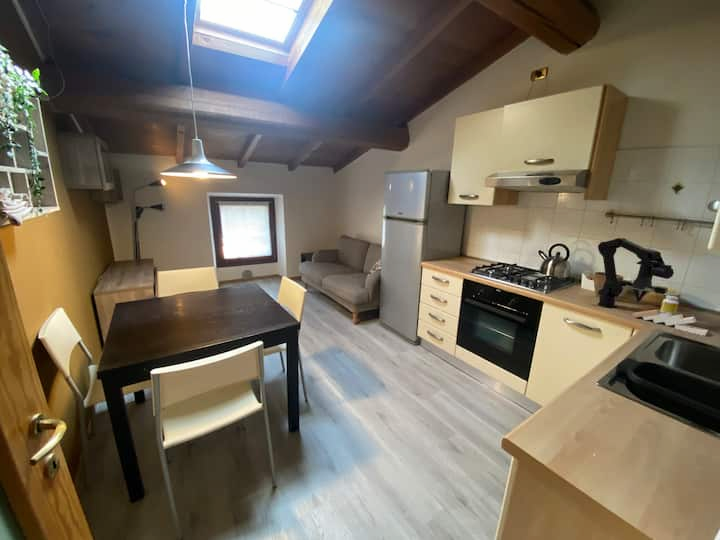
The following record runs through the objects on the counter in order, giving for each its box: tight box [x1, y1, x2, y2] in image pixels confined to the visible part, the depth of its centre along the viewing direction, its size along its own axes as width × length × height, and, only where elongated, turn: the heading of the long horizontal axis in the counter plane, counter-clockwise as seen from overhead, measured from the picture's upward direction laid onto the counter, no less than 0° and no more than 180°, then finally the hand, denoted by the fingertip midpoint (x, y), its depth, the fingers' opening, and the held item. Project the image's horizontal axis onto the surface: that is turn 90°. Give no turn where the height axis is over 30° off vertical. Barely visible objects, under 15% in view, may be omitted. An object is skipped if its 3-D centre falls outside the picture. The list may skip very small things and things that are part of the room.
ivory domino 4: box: [674, 323, 709, 337], centre depth 142 cm, size 2×5×10 cm
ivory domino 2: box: [652, 313, 684, 324], centre depth 149 cm, size 2×5×10 cm
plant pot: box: [593, 271, 625, 299], centre depth 190 cm, size 15×15×16 cm
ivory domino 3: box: [664, 316, 697, 326], centre depth 145 cm, size 2×5×10 cm
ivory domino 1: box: [642, 311, 672, 321], centre depth 152 cm, size 2×5×10 cm
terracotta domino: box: [632, 308, 661, 319], centre depth 156 cm, size 2×5×10 cm
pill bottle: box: [660, 294, 680, 315], centre depth 163 cm, size 6×6×11 cm
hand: (638, 301), depth 158 cm, fingers closed
